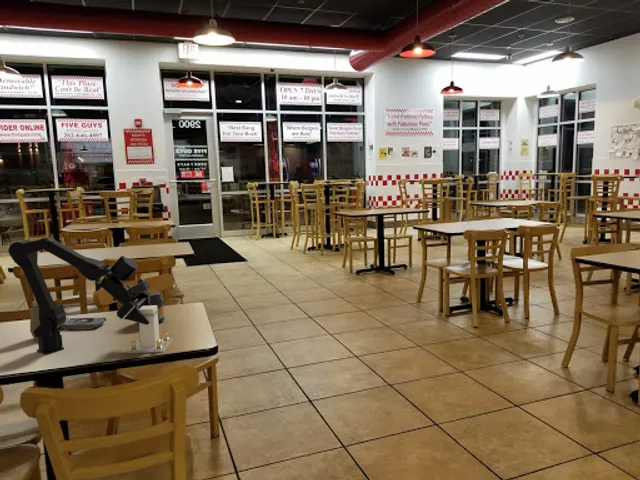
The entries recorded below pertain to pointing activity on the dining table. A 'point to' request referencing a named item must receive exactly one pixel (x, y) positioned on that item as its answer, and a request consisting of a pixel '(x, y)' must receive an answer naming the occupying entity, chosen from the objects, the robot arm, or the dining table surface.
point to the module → (149, 326)
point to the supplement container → (157, 300)
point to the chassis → (160, 346)
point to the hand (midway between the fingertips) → (152, 319)
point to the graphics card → (82, 323)
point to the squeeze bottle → (34, 318)
